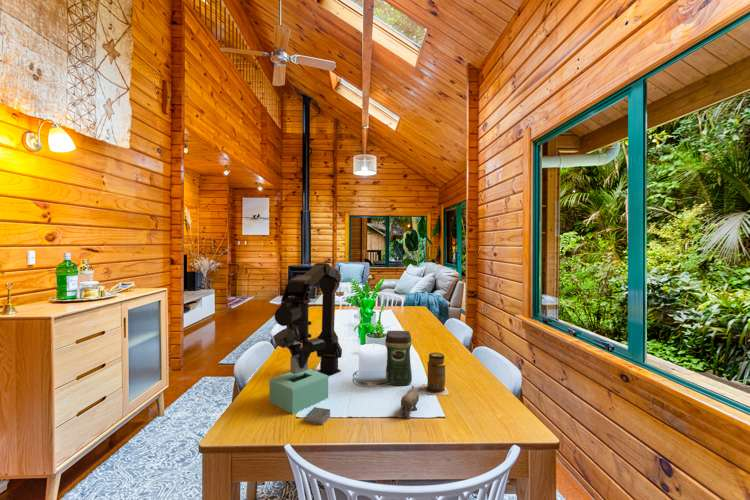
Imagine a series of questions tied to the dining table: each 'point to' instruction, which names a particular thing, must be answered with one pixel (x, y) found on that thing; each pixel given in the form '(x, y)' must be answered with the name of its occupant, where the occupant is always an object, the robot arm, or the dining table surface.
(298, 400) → the teal box
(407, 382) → the coffee jar
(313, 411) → the block
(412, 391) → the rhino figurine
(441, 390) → the condiment
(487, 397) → the dining table surface
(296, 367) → the block
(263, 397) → the dining table surface
